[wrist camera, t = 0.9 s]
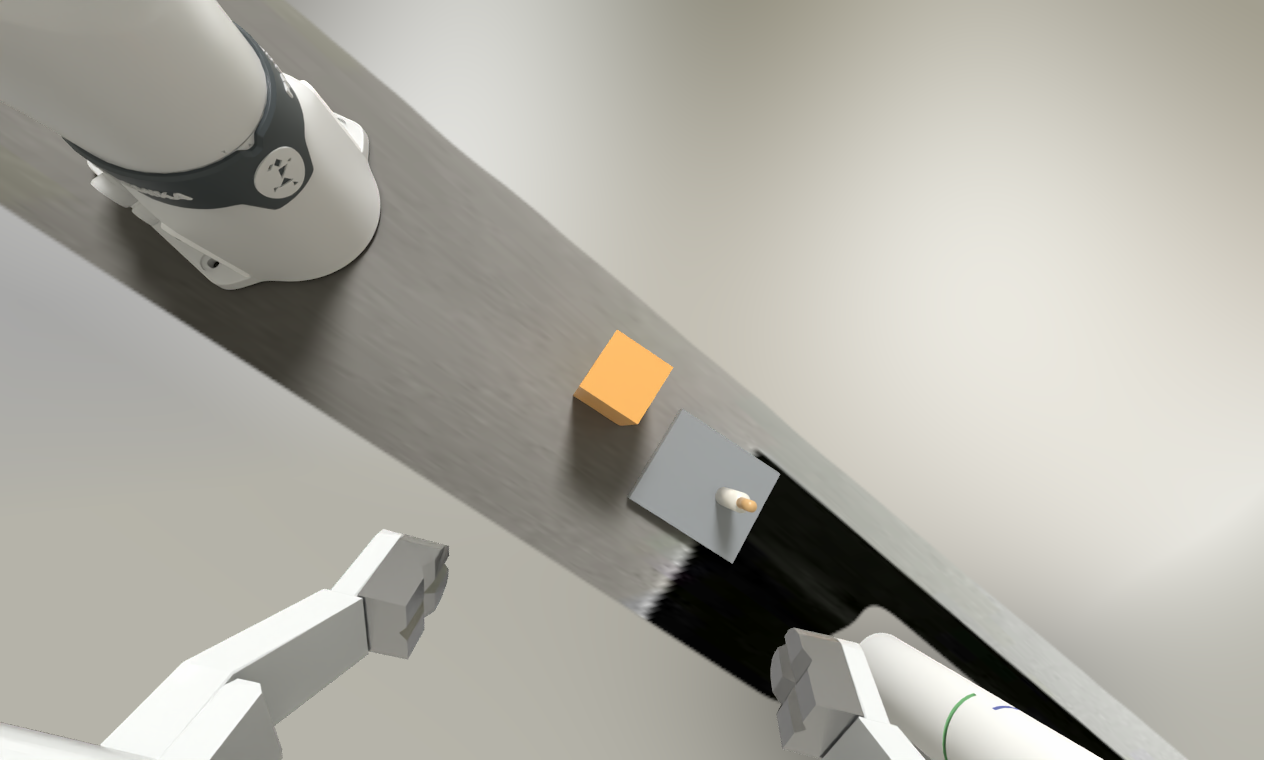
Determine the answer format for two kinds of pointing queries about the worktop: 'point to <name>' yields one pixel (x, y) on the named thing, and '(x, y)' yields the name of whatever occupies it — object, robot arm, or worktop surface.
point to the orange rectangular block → (623, 381)
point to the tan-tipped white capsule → (735, 500)
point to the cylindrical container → (956, 710)
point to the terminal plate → (702, 484)
